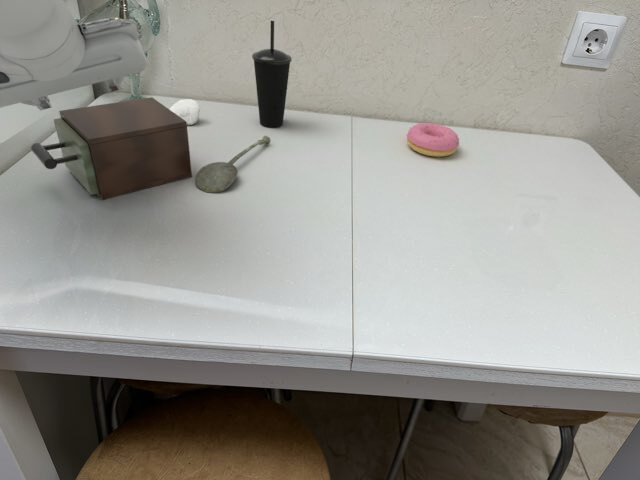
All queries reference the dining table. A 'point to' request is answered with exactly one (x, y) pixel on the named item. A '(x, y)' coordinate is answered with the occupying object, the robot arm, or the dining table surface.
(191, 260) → the dining table surface
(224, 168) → the soupspoon
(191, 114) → the dumpling
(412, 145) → the doughnut
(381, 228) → the dining table surface
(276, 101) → the drinking cup
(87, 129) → the cabinet
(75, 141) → the drawer
